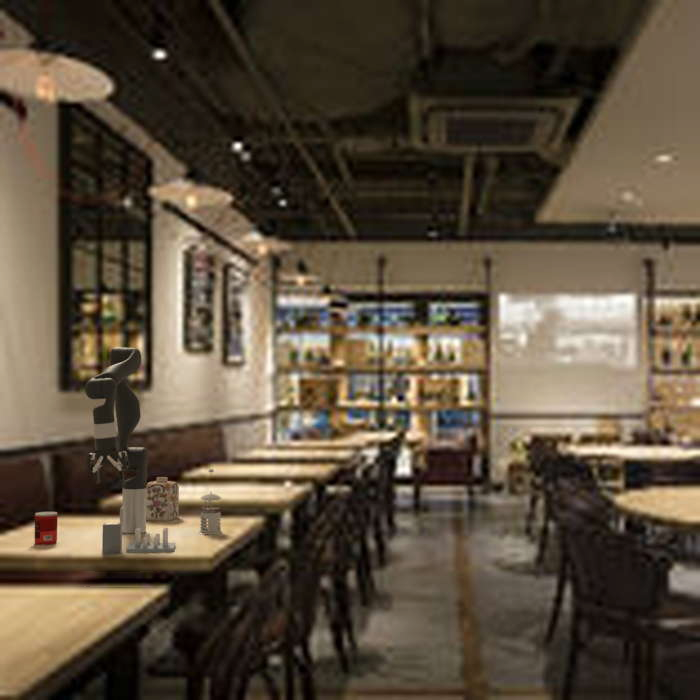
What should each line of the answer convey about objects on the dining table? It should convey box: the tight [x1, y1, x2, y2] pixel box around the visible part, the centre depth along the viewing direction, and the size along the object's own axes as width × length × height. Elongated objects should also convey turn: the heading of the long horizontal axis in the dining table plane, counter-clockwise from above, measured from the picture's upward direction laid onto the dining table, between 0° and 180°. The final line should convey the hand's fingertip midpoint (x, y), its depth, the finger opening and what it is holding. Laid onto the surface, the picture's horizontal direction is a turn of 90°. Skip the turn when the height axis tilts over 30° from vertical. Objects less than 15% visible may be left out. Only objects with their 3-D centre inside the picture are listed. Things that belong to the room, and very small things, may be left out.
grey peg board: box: [126, 526, 176, 553], centre depth 338 cm, size 16×12×7 cm
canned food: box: [34, 511, 58, 546], centre depth 348 cm, size 8×8×11 cm
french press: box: [198, 468, 224, 535], centre depth 376 cm, size 10×12×25 cm
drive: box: [101, 522, 123, 555], centre depth 330 cm, size 6×5×10 cm
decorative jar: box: [146, 476, 180, 522], centre depth 412 cm, size 12×12×18 cm
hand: (109, 482), depth 333 cm, fingers open, 8 cm apart
